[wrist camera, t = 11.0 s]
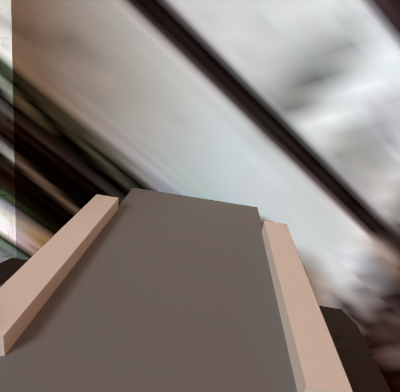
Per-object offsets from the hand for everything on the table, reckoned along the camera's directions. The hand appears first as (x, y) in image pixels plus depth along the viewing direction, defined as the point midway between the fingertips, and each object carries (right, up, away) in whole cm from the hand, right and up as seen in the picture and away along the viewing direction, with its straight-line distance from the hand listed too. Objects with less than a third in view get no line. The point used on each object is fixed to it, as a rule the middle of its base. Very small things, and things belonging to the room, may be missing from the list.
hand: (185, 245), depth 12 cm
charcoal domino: (0, +1, +2) cm, 2 cm away
